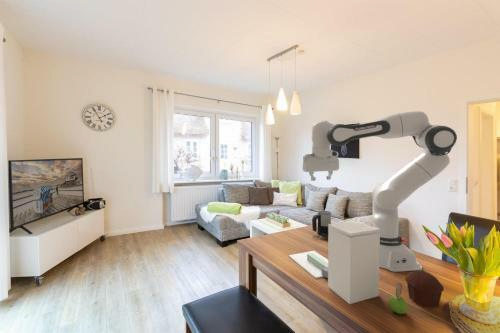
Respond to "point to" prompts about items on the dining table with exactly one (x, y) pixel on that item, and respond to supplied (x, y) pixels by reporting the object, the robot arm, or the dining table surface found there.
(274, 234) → the dining table surface
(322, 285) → the dining table surface
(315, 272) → the mat
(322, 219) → the milk frother
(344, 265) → the tall white box
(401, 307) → the green rounded piece
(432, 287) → the muffin
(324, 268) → the t-shaped bar
